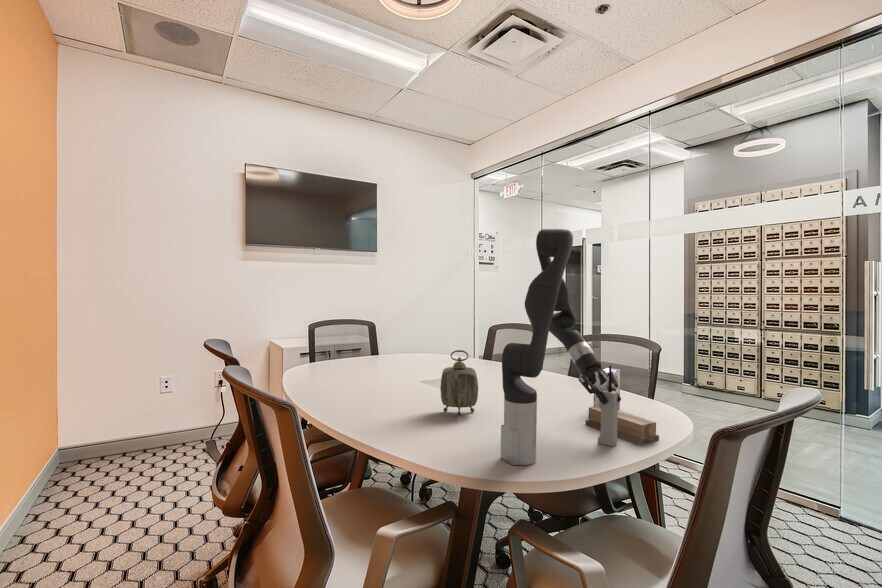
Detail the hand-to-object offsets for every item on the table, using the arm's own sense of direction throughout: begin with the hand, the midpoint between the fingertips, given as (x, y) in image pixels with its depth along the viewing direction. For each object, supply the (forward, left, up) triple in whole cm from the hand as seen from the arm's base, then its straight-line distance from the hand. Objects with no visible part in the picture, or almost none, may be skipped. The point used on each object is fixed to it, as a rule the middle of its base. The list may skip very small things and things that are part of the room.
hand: (612, 402), depth 131 cm
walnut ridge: (+13, +8, -14) cm, 20 cm away
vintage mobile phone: (0, +2, -14) cm, 14 cm away
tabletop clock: (-28, +49, -14) cm, 58 cm away
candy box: (+29, +28, -14) cm, 43 cm away
